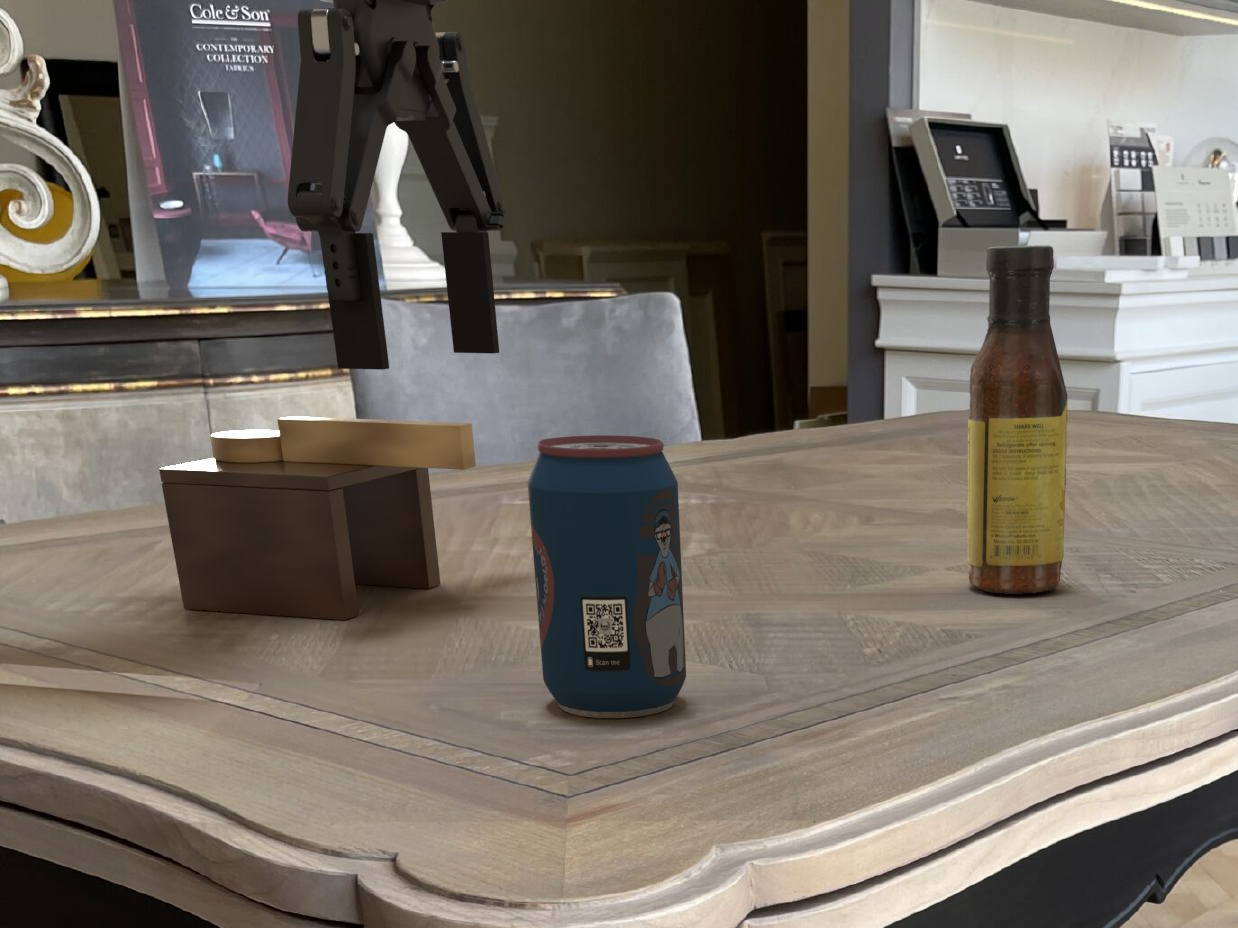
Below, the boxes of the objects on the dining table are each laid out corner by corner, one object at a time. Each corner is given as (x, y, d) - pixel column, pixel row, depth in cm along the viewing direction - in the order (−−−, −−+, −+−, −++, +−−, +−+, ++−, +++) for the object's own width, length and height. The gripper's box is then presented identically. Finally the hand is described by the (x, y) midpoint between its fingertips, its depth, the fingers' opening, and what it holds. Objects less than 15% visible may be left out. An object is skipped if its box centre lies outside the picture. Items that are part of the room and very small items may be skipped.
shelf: (183, 609, 103) (158, 468, 99) (291, 575, 113) (272, 446, 109) (345, 620, 100) (326, 476, 97) (441, 584, 111) (426, 452, 107)
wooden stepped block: (198, 461, 102) (191, 418, 101) (242, 452, 106) (235, 411, 105) (452, 472, 98) (447, 428, 97) (487, 463, 102) (483, 420, 101)
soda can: (554, 687, 86) (534, 433, 81) (690, 687, 87) (680, 433, 81) (536, 722, 80) (513, 449, 75) (683, 721, 81) (671, 450, 75)
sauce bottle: (1080, 589, 111) (1103, 245, 101) (1017, 601, 107) (1035, 245, 98) (1005, 575, 115) (1020, 244, 106) (942, 587, 111) (952, 244, 102)
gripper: (307, -137, 77) (373, 377, 87) (540, -59, 98) (570, 348, 108) (163, -130, 78) (244, 374, 88) (422, -54, 99) (463, 346, 110)
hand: (423, 361), depth 98 cm, fingers open, 13 cm apart
